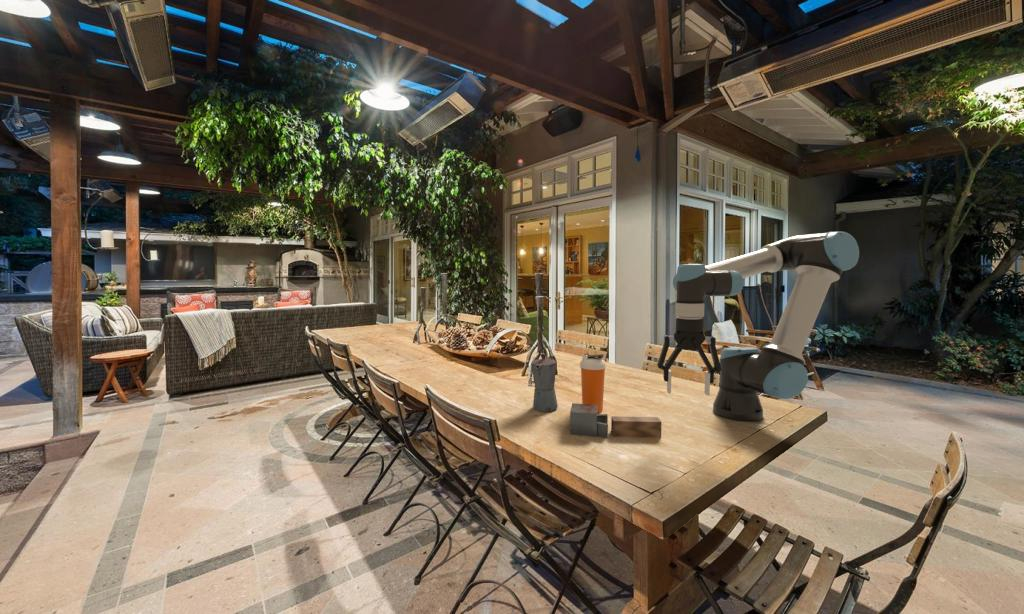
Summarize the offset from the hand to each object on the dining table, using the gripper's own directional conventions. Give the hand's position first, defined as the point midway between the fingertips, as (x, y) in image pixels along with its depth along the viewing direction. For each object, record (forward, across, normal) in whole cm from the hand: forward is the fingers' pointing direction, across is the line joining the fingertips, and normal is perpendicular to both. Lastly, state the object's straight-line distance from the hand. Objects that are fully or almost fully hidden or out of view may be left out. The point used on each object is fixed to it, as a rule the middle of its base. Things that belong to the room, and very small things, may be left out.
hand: (687, 393), depth 119 cm
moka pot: (+14, +45, -18) cm, 51 cm away
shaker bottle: (+14, +28, -19) cm, 37 cm away
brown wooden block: (+14, +14, 0) cm, 20 cm away
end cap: (+14, +28, 0) cm, 31 cm away
